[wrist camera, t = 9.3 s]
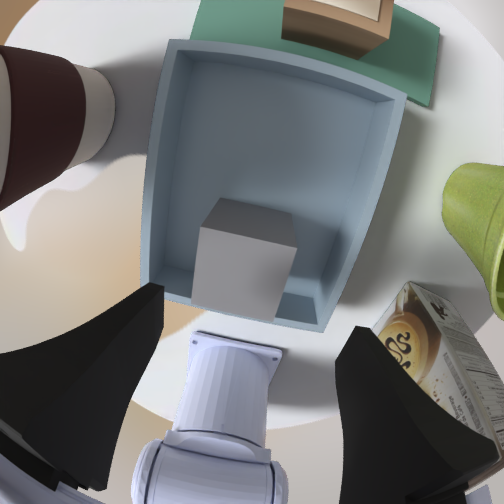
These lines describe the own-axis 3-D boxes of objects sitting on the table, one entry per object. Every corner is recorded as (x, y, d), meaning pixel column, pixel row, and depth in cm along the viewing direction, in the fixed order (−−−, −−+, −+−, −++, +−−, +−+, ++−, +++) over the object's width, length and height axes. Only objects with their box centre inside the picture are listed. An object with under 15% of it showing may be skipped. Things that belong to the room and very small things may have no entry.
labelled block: (356, 60, 12) (389, 38, 8) (280, 39, 12) (283, 5, 7) (367, 4, 10) (397, -29, 6) (295, -17, 10) (301, -60, 5)
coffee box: (395, 367, 24) (433, 508, 9) (346, 356, 23) (374, 525, 9) (452, 300, 20) (534, 445, 5) (407, 277, 19) (503, 464, 5)
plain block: (273, 274, 19) (273, 321, 15) (209, 260, 19) (190, 303, 14) (291, 213, 17) (297, 248, 13) (220, 197, 17) (200, 226, 12)
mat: (422, 106, 13) (428, 106, 13) (192, 44, 13) (189, 41, 12) (434, 30, 10) (439, 27, 10) (216, -32, 10) (214, -37, 9)
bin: (317, 301, 20) (322, 333, 17) (158, 266, 20) (140, 292, 17) (383, 97, 14) (407, 94, 10) (188, 53, 13) (169, 39, 10)
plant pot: (397, 210, 17) (468, 275, 9) (465, 113, 13) (554, 127, 5) (459, 275, 19) (513, 341, 11) (516, 195, 15) (583, 236, 7)
